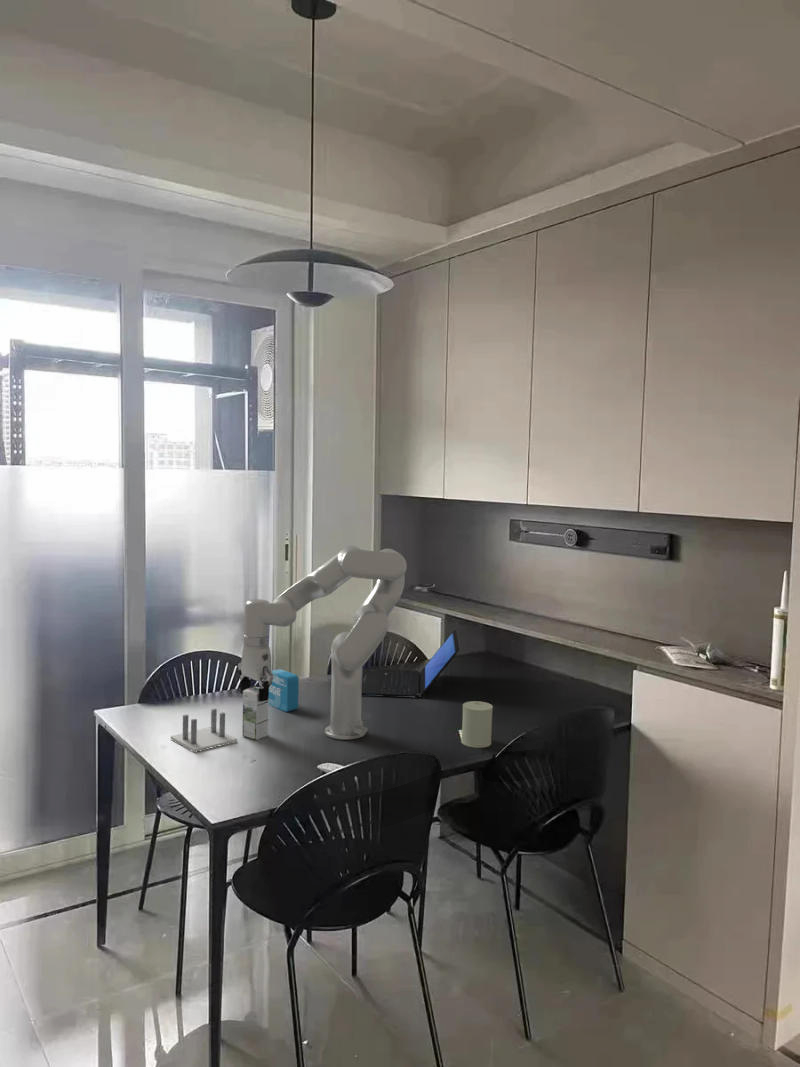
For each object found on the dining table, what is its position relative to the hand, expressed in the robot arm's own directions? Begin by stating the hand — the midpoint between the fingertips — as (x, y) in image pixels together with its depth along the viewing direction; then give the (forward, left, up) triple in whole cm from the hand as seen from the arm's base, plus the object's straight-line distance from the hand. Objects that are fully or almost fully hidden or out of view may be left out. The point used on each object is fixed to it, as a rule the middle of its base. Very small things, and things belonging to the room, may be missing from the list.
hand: (254, 696), depth 238 cm
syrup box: (0, 0, -13) cm, 12 cm away
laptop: (+11, -76, -13) cm, 78 cm away
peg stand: (+6, +14, -12) cm, 19 cm away
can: (-46, -49, -13) cm, 69 cm away
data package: (+18, -23, -13) cm, 32 cm away
